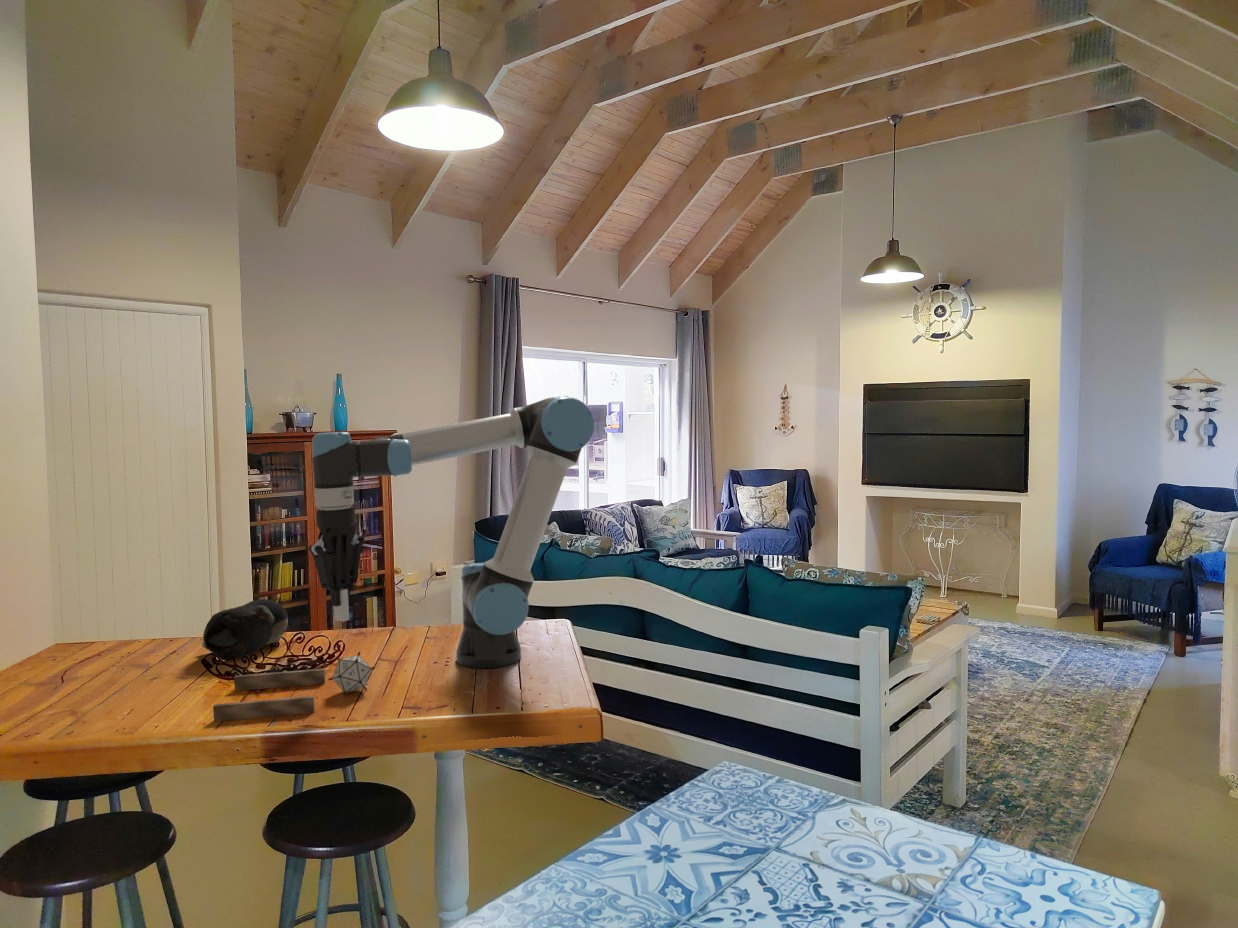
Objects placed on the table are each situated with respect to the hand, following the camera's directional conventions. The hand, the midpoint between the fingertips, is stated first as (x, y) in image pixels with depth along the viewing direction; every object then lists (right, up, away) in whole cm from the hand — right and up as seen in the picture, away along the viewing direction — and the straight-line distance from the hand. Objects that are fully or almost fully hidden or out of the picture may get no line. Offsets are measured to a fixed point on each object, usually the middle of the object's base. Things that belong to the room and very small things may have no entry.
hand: (341, 619), depth 165 cm
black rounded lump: (-34, -14, +31) cm, 48 cm away
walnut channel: (-13, -16, -2) cm, 21 cm away
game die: (+1, -16, +3) cm, 16 cm away
